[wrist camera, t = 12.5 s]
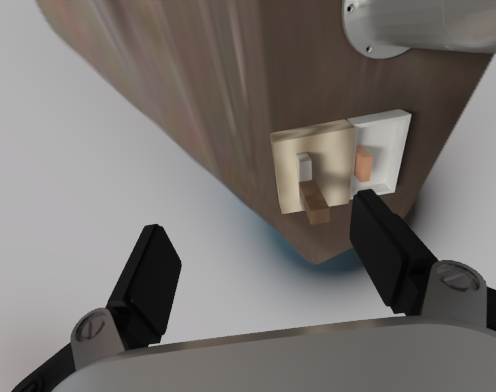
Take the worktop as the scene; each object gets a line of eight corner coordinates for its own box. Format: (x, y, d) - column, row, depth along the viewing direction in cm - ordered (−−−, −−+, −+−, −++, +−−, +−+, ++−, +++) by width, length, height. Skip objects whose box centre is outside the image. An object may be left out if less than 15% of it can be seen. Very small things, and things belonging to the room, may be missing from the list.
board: (344, 119, 37) (355, 127, 34) (340, 190, 45) (348, 203, 42) (270, 133, 38) (273, 142, 35) (279, 201, 46) (282, 214, 43)
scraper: (308, 151, 36) (330, 186, 27) (310, 198, 41) (328, 239, 32) (293, 153, 36) (309, 189, 28) (296, 200, 41) (311, 242, 33)
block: (351, 146, 39) (360, 144, 39) (349, 169, 42) (357, 167, 41) (363, 157, 35) (373, 156, 35) (360, 182, 38) (369, 181, 38)
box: (399, 108, 36) (411, 114, 34) (385, 183, 44) (394, 192, 42) (346, 118, 37) (354, 125, 34) (342, 190, 45) (348, 199, 42)
